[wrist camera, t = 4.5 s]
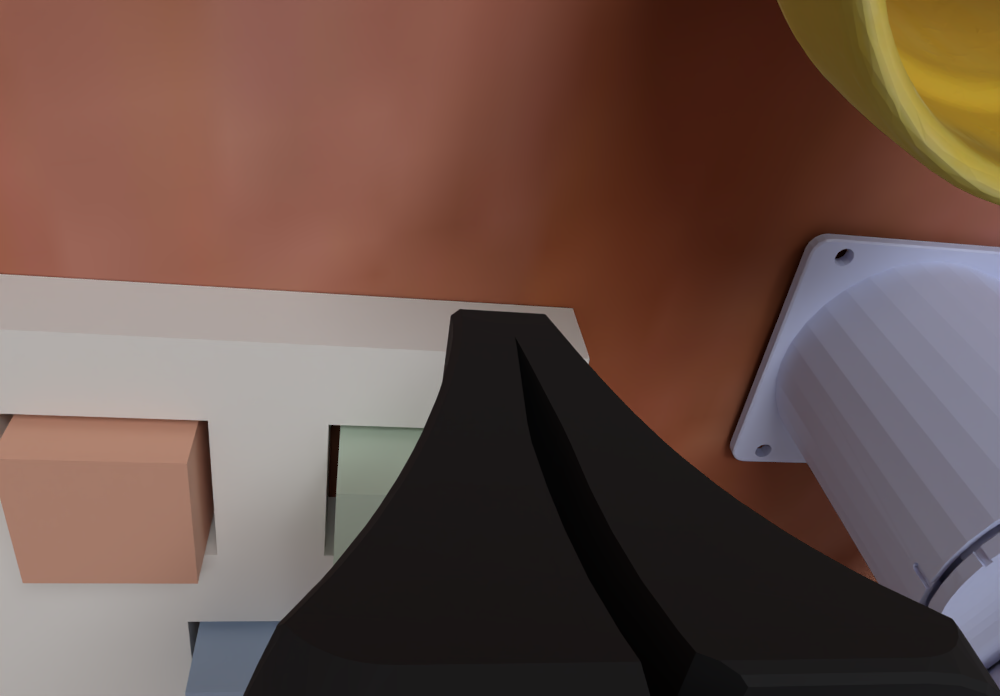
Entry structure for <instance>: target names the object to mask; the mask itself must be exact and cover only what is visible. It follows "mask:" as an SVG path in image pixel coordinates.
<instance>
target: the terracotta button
mask: <svg viewBox="0 0 1000 696" xmlns="http://www.w3.org/2000/svg"><path fill="white" fill-rule="evenodd" d="M0 500H1V504H2V507H3V511H4V515H5V519H6V522H7V526H8V530H9V534H10V537H11V541H12V545H13V549H14V552H15V556H16V560H17V564H18V567H19V571H20V575H21V579H22V582H23V583H141V584H198V581H199V576H200V572H201V567H202V563H203V558H204V554H205V549H206V545H207V540H208V536H209V531H210V526H211V522H212V517H213V513H214V500H213V486H212V472H211V458H210V443H209V429H208V421H203V420H173V419H144V418H114V417H84V416H55V415H25V414H14V415H13V417H12V419H11V421H10V422H9V424H8V426H7V428H6V430H5V432H4V433H3V435H2V437H1V439H0Z"/></svg>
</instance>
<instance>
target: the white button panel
mask: <svg viewBox="0 0 1000 696" xmlns="http://www.w3.org/2000/svg"><path fill="white" fill-rule="evenodd" d="M459 309H468V310H486V311H503V312H520V313H537V314H546V315H547V317H548V318H549V319H550V320H551V321H552V322H553V323H554V325H555V326H556V327H557V328H558V329H559V330H560V332H561V333H562V334H563V335H564V336H565V338H566V339H567V340H568V341H569V342H570V344H571V345H572V346H573V347H574V348H575V349H576V351H577V352H578V353H579V354H580V355H581V356H582V357H583V359H584V360H585V361H586V362H587V363H588V364H589V360H590V358H589V355H588V352H587V349H586V346H585V343H584V340H583V337H582V334H581V331H580V328H579V326H578V323H577V320H576V317H575V314H574V311H573V308H559V307H542V306H525V305H509V304H492V303H475V302H459V301H442V300H425V299H408V298H392V297H375V296H358V295H342V294H325V293H308V292H291V291H275V290H258V289H241V288H224V287H208V286H191V285H174V284H158V283H141V282H124V281H107V280H91V279H74V278H57V277H41V276H24V275H7V274H0V439H1V437H2V435H3V433H4V432H5V430H6V428H7V426H8V424H9V422H10V421H11V419H12V417H13V415H14V414H25V415H55V416H84V417H114V418H144V419H173V420H203V421H208V429H209V443H210V458H211V472H212V486H213V500H214V513H213V517H212V522H211V526H210V531H209V536H208V540H207V545H206V549H205V554H204V558H203V563H202V567H201V572H200V576H199V581H198V584H141V583H23V582H22V579H21V575H20V571H19V567H18V564H17V560H16V556H15V552H14V549H13V545H12V541H11V537H10V534H9V530H8V526H7V522H6V519H5V515H4V511H3V507H2V504H1V500H0V696H185V691H186V686H187V682H188V677H189V672H190V667H191V662H192V658H193V653H194V648H195V643H196V638H197V634H198V629H199V624H200V622H217V621H281V620H282V619H283V618H284V617H285V616H286V615H287V614H288V613H289V612H290V611H291V610H292V609H293V608H294V607H295V606H296V605H297V604H298V603H299V602H300V601H301V600H302V599H303V597H304V596H305V595H306V594H307V593H308V592H309V591H310V590H311V589H312V588H313V587H314V586H315V585H316V584H317V583H318V582H319V581H320V580H321V579H322V578H323V577H324V576H325V575H326V573H327V572H328V571H329V570H330V569H331V568H332V567H333V557H334V533H335V510H336V497H328V495H329V467H330V439H331V425H351V426H381V427H410V428H424V427H425V424H426V422H427V420H428V417H429V415H430V413H431V410H432V408H433V406H434V403H435V401H436V399H437V396H438V393H439V390H440V387H441V384H442V380H443V372H444V364H445V356H446V348H447V341H448V333H449V325H450V317H451V315H452V314H454V313H455V312H456V311H458V310H459Z"/></svg>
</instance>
